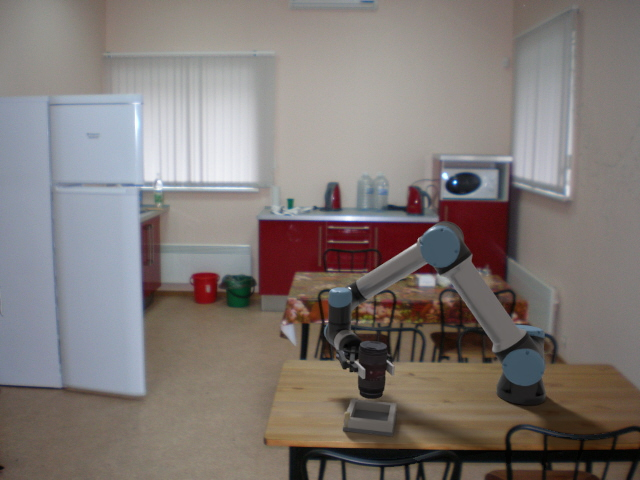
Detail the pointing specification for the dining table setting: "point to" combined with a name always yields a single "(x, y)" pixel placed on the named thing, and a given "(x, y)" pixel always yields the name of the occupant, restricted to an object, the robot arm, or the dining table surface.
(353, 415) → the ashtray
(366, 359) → the camera lens
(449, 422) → the dining table surface
